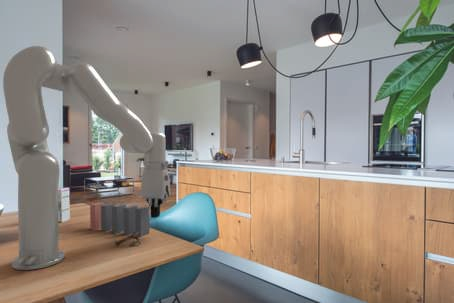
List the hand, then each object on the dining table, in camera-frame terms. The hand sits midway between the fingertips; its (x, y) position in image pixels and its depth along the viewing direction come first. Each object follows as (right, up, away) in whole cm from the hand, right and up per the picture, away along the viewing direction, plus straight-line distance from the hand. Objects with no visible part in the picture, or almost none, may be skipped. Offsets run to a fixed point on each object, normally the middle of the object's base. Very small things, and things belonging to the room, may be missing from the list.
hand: (155, 216), depth 105 cm
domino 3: (-16, -7, +6) cm, 18 cm away
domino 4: (-10, -7, +4) cm, 13 cm away
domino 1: (-26, -7, +10) cm, 29 cm away
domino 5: (-5, -7, +2) cm, 9 cm away
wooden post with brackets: (-7, -8, -10) cm, 14 cm away
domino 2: (-21, -7, +8) cm, 23 cm away
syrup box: (-48, -7, +23) cm, 53 cm away
